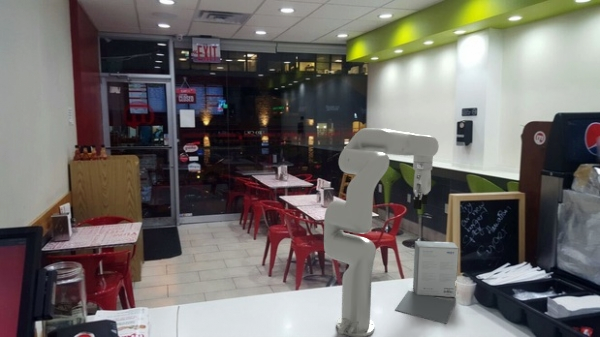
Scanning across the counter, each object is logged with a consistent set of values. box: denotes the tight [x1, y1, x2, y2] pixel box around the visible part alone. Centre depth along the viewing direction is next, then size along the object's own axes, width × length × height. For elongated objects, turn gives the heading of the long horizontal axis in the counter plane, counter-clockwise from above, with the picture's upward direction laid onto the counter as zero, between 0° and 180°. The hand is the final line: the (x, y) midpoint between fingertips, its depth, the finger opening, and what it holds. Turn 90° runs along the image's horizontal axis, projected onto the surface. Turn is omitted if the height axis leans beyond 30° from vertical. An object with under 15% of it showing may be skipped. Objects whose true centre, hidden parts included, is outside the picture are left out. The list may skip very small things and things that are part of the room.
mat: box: [394, 290, 456, 325], centre depth 150 cm, size 18×18×1 cm
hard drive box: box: [412, 240, 460, 298], centre depth 160 cm, size 16×8×20 cm, turn 84°
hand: (420, 206), depth 167 cm, fingers open, 9 cm apart
